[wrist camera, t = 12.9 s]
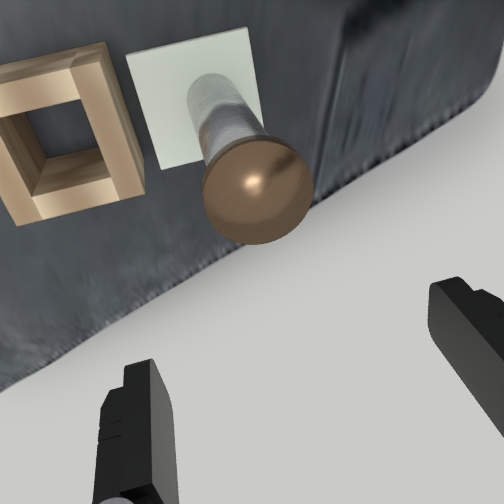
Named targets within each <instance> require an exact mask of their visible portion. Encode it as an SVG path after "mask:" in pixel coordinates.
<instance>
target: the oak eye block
mask: <svg viewBox="0 0 504 504" xmlns="http://www.w3.org/2000/svg"><path fill="white" fill-rule="evenodd" d="M76 99H81V101H82V103H83V106H84V109H85V111H86V114H87V116H88V119H89V122H90V124H91V127H92V129H93V132H94V135H95V137H96V140H97V142H98V145H99V146H98V147H93V148H89V149H85V150H81V151H77V152H73V153H69V154H65V155H61V156H57V157H53V158H48V159H47V158H46V156H45V154H44V152H43V149H42V147H41V145H40V143H39V141H38V139H37V136H36V134H35V132H34V130H33V128H32V126H31V123H30V121H29V119H28V117H27V115H26V113H25V112H26V111H30V110H34V109H38V108H43V107H47V106H51V105H55V104H60V103H64V102H68V101H72V100H76ZM143 194H145V181H144V157H143V154H142V151H141V148H140V145H139V142H138V139H137V136H136V133H135V130H134V127H133V124H132V121H131V118H130V115H129V112H128V109H127V106H126V103H125V100H124V97H123V94H122V91H121V88H120V85H119V82H118V79H117V76H116V73H115V70H114V67H113V64H112V61H111V58H110V55H109V52H108V49H107V46H106V43H105V41H104V42H100V43H96V44H91V45H87V46H83V47H78V48H74V49H70V50H65V51H61V52H56V53H52V54H48V55H43V56H39V57H35V58H30V59H26V60H21V61H17V62H13V63H8V64H4V65H0V196H1V198H2V200H3V202H4V204H5V206H6V207H7V209H8V211H9V213H10V215H11V216H12V218H13V220H14V222H15V224H16V225H17V226H20V225H24V224H28V223H32V222H36V221H40V220H44V219H48V218H52V217H56V216H60V215H64V214H68V213H72V212H75V211H79V210H83V209H87V208H91V207H95V206H99V205H103V204H107V203H111V202H115V201H119V200H123V199H127V198H131V197H135V196H139V195H143Z"/></svg>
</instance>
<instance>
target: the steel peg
mask: <svg viewBox="0 0 504 504" xmlns="http://www.w3.org/2000/svg"><path fill="white" fill-rule="evenodd" d="M187 107H188V110H189V113H190V117H191V120H192V123H193V126H194V129H195V132H196V136H197V139H198V142H199V145H200V148H201V151H202V155H203V158H204V161H205V164H206V170H205V172H204V175H203V179H202V186H201V193H202V199H203V203H204V207H205V211H206V214H207V217H208V219H209V221H210V223H211V224H212V225H213V227H214V228H215V229H216V230H217V231H218V232H219V233H220V234H221V235H223V236H224V237H226V238H228V239H229V240H232V241H234V242H237V243H241V244H248V245H257V244H264V243H269V242H272V241H275V240H277V239H279V238H282V237H283V236H285V235H287V234H288V233H289V232H291V231H292V230H293V229H294V228H296V227H297V225H299V223H300V222H301V221H302V220H303V218H304V217H305V215H306V214H307V212H308V210H309V208H310V205H311V202H312V198H313V190H314V189H313V179H312V175H311V172H310V170H309V168H308V166H307V164H306V163H305V162H304V160H303V159H302V158H301V156H300V155H299V154H298V153H297V151H296V150H295V149H294V148H293V147H292V146H290V145H289V144H288V143H286V142H285V141H283V140H281V139H278V138H276V137H272V136H269V135H268V133H267V132H266V130H265V129H264V127H263V126H262V125H261V123H260V122H259V120H258V119H257V117H256V116H255V114H254V113H253V111H252V110H251V109H250V107H249V106H248V104H247V103H246V101H245V100H244V98H243V97H242V95H241V94H240V93H239V91H238V90H237V88H236V87H235V85H234V84H233V83H232V81H231V80H229V79H228V78H227V77H225V76H223V75H221V74H216V73H209V74H205V75H202V76H200V77H199V78H197V79H196V80H195V81H194V82H193V83H192V84H191V86H190V88H189V90H188V93H187Z"/></svg>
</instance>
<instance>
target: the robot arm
mask: <svg viewBox="0 0 504 504" xmlns="http://www.w3.org/2000/svg"><path fill="white" fill-rule="evenodd" d="M428 328H429V332H430V335H431V337H432V339H433V341H434V342H435V344H436V345H437V347H438V348H439V349H440V351H441V352H442V354H443V355H444V356H445V358H446V359H447V360H448V362H449V363H450V365H451V366H452V367H453V369H454V370H455V371H456V373H457V374H458V375H459V377H460V378H461V380H462V381H463V382H464V384H465V385H466V387H467V388H468V389H469V391H470V392H471V393H472V395H473V396H474V397H475V399H476V400H477V402H478V403H479V404H480V406H481V407H482V408H483V410H484V411H485V412H486V414H487V415H488V417H489V418H490V419H491V421H492V422H493V424H494V425H495V426H496V428H497V429H498V430H499V432H500V433H501V435H502V436H503V437H504V302H503V301H502V300H501V299H500V298H498V297H496V296H494V295H492V294H490V293H488V292H487V291H485V290H483V289H480V290H476V291H473V290H472V289H471V288H470V286H469V285H468V284H467V283H466V282H465V281H464V280H463V279H461V278H460V277H453V278H449V279H446V280H442V281H439V282H435V283H432V284H431V285H430V289H429V306H428ZM99 427H100V430H99V434H98V443H99V444H98V446H97V457H96V470H95V481H94V492H93V502H92V504H179V496H178V481H177V467H176V452H175V437H174V422H173V411H172V405H171V401H170V397H169V394H168V392H167V389H166V387H165V385H164V383H163V380H162V378H161V376H160V374H159V371H158V369H157V366H156V364H155V362H154V360H153V359H148V360H144V361H141V362H137V363H133V364H130V365H126V366H125V367H124V381H123V387H120V388H116V389H112V390H110V391H109V393H108V395H107V397H106V399H105V401H104V403H103V405H102V407H101V411H100V423H99Z"/></svg>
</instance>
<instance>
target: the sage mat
mask: <svg viewBox="0 0 504 504" xmlns="http://www.w3.org/2000/svg"><path fill="white" fill-rule="evenodd" d="M126 59H127V62H128V65H129V69H130V72H131V75H132V78H133V81H134V85H135V88H136V91H137V94H138V97H139V101H140V104H141V107H142V110H143V113H144V117H145V120H146V123H147V126H148V129H149V132H150V136H151V139H152V142H153V145H154V148H155V152H156V155H157V158H158V161H159V164H160V168H161V170H163V169H167V168H171V167H175V166H179V165H183V164H187V163H191V162H195V161H199V160H203V159H204V158H203V155H202V151H201V148H200V145H199V142H198V139H197V136H196V132H195V129H194V126H193V123H192V120H191V117H190V113H189V110H188V107H187V93H188V90H189V88H190V86H191V84H192V83H193V82H194V81H195V80H196V79H197V78H199V77H200V76H202V75H205V74H209V73H216V74H221V75H223V76H225V77H227V78H228V79H229V80H231V81H232V83H233V84H234V85H235V87H236V88H237V90H238V91H239V93H240V94H241V95H242V97H243V98H244V100H245V101H246V103H247V104H248V106H249V107H250V109H251V110H252V111H253V113H254V114H255V116H256V117H257V119H258V120H259V122H260V123H261V125H262V126H263V120H262V114H261V108H260V102H259V96H258V89H257V83H256V77H255V71H254V65H253V59H252V53H251V47H250V41H249V35H248V29H247V27H242V28H237V29H233V30H229V31H224V32H220V33H216V34H211V35H207V36H203V37H198V38H194V39H190V40H185V41H181V42H177V43H172V44H168V45H164V46H159V47H155V48H151V49H147V50H142V51H138V52H134V53H129V54H126ZM263 127H264V126H263Z"/></svg>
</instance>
